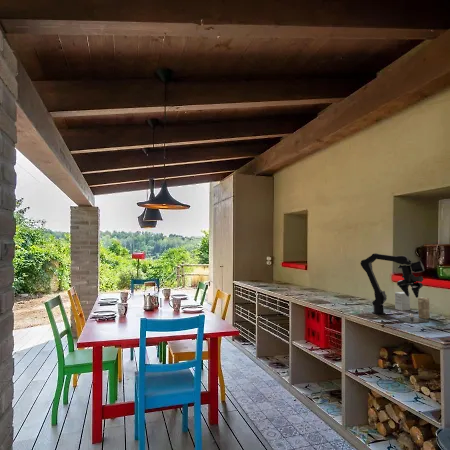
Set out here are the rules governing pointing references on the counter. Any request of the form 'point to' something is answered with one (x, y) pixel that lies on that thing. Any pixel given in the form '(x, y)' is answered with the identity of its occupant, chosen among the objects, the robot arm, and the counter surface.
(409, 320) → the post plate
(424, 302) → the birch post
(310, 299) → the counter surface
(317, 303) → the counter surface
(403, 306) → the supplement box
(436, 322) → the counter surface
